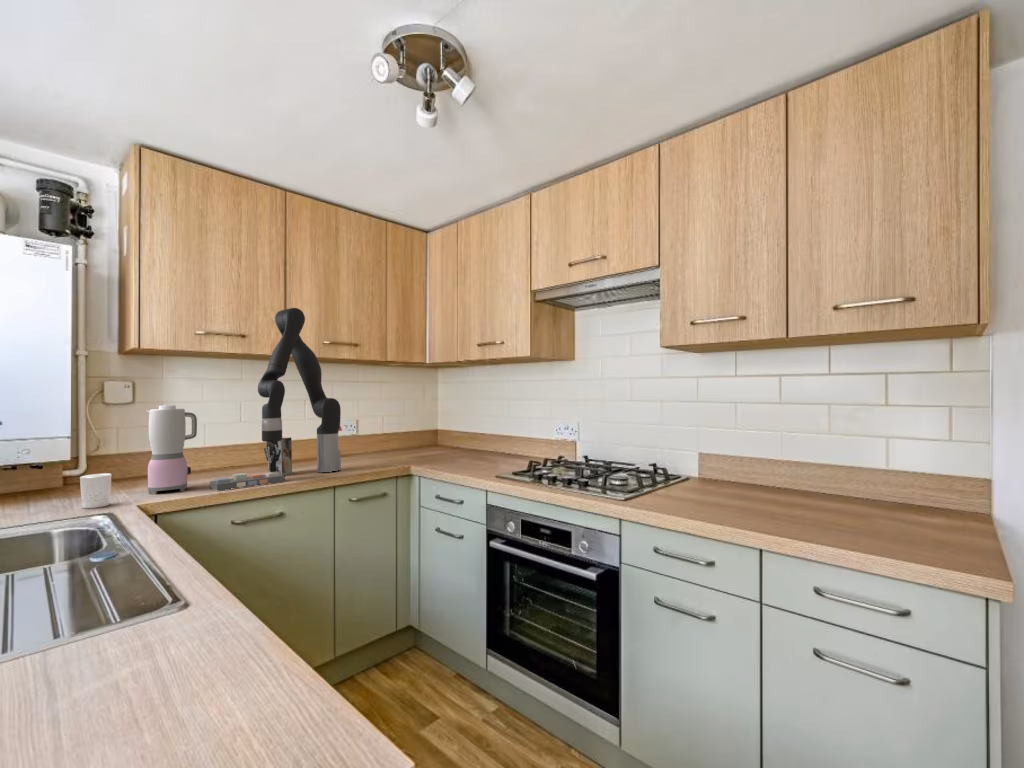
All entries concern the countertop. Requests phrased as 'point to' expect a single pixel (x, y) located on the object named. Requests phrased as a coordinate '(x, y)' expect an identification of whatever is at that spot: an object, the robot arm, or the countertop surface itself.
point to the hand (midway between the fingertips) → (272, 471)
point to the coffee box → (284, 457)
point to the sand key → (272, 474)
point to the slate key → (222, 480)
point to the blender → (168, 448)
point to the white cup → (95, 490)
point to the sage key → (239, 476)
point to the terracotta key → (256, 476)
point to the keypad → (246, 482)
